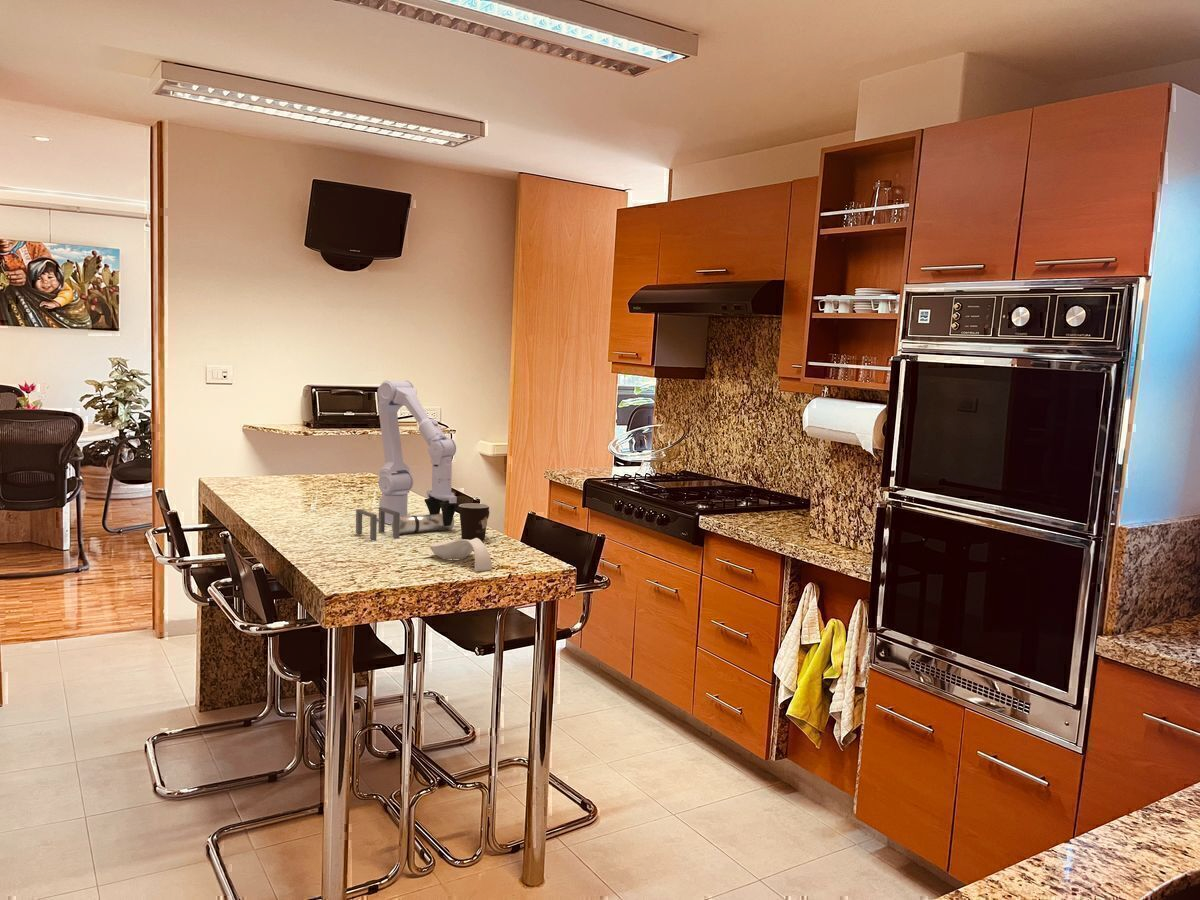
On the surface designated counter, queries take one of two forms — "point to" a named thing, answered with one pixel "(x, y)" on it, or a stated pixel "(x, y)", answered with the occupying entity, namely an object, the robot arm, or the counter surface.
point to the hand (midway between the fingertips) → (441, 523)
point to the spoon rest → (464, 552)
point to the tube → (422, 523)
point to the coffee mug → (473, 520)
